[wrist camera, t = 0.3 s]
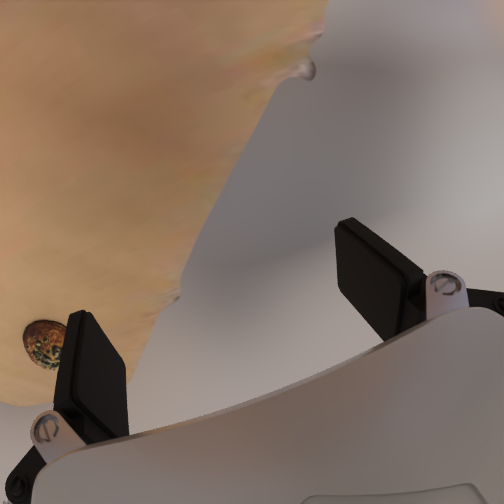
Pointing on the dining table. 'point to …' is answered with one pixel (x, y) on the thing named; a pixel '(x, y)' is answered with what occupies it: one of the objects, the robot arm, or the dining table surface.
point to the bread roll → (44, 343)
